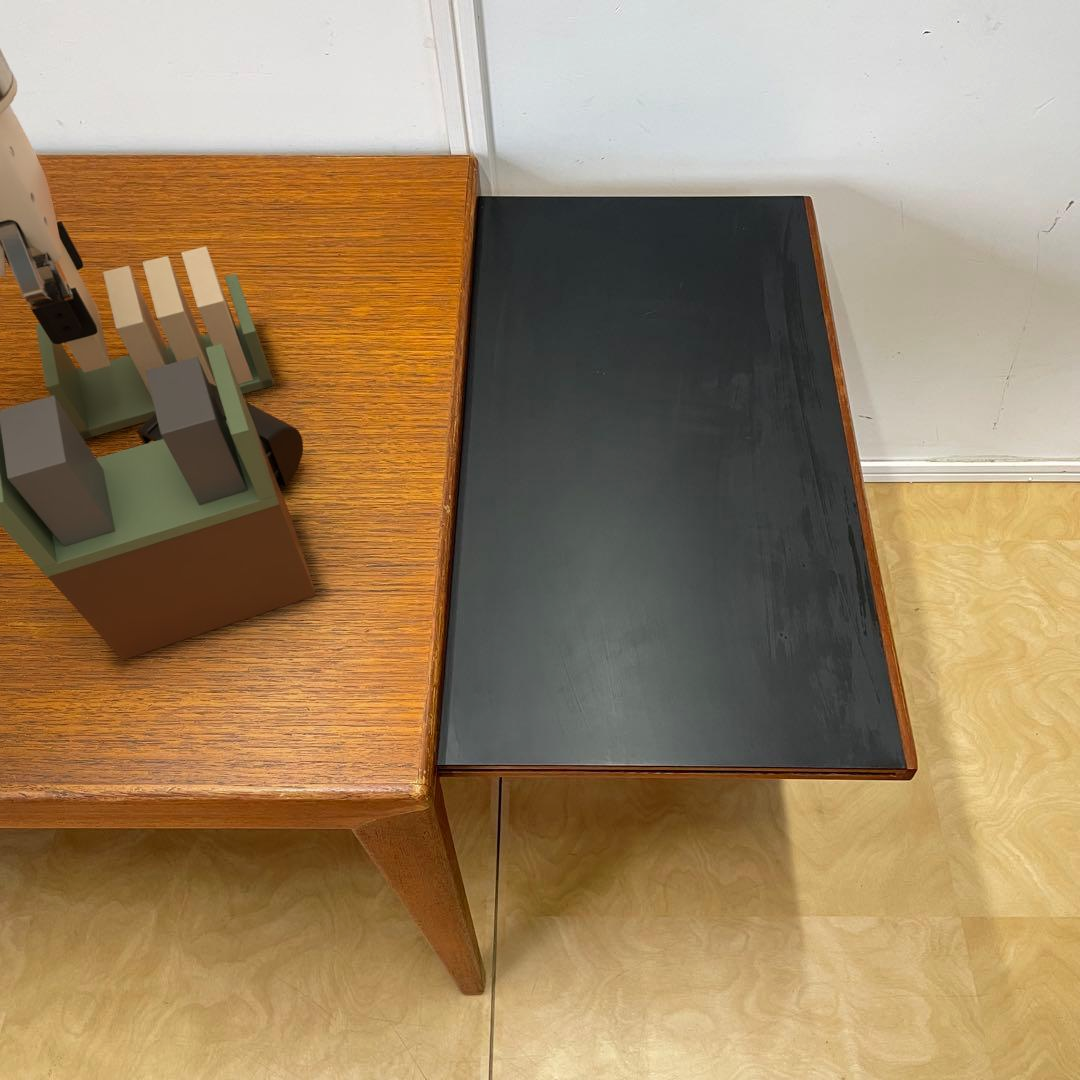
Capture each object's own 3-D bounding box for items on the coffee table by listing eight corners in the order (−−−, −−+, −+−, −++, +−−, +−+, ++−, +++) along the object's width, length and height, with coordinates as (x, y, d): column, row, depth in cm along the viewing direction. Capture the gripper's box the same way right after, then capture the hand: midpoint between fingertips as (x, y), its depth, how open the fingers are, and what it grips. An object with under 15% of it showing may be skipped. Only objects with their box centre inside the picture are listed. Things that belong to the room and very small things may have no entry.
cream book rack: (81, 440, 75) (24, 355, 66) (69, 379, 78) (14, 291, 70) (274, 385, 78) (244, 297, 70) (255, 329, 81) (224, 239, 73)
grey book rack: (122, 660, 65) (-22, 501, 48) (107, 580, 68) (-33, 404, 51) (316, 595, 68) (246, 423, 51) (292, 521, 71) (219, 337, 54)
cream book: (84, 373, 70) (29, 283, 62) (72, 315, 73) (19, 223, 65) (110, 365, 70) (60, 275, 63) (98, 308, 73) (48, 216, 66)
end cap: (312, 465, 74) (295, 411, 68) (254, 529, 71) (230, 477, 65) (217, 414, 76) (192, 358, 71) (157, 473, 73) (126, 419, 67)
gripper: (-137, 9, 56) (4, 241, 72) (-128, 180, 48) (30, 401, 63) (-9, -15, 58) (103, 218, 73) (21, 147, 50) (140, 371, 65)
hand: (68, 301), depth 68 cm, fingers closed on cream book, 6 cm apart
